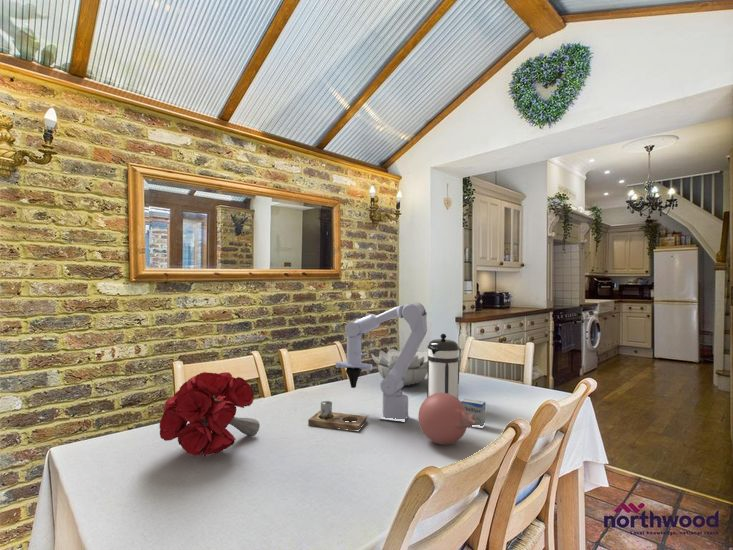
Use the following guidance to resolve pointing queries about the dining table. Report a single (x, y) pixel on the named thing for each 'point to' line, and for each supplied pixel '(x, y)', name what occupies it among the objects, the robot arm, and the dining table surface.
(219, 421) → the bouquet
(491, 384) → the dining table surface
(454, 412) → the balloon
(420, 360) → the decorative bowl
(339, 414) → the jig plate
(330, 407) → the bushing
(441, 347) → the coffee press
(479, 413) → the medicine box
